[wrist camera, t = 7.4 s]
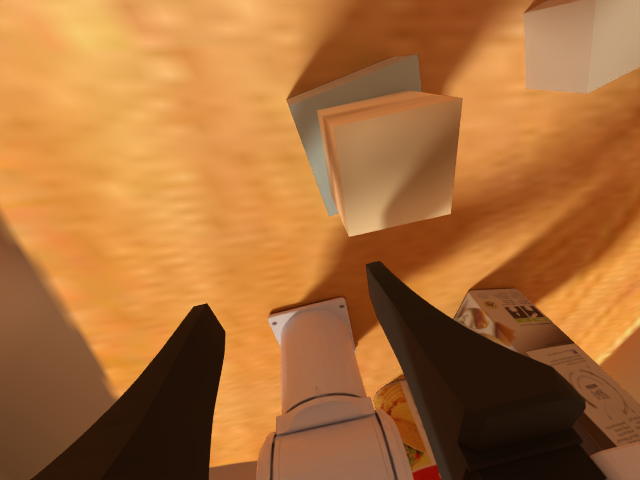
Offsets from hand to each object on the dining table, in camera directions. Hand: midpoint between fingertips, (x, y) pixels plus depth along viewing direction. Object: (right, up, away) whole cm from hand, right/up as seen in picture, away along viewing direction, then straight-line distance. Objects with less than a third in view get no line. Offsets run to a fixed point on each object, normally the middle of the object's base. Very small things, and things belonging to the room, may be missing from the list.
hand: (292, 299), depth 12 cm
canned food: (+13, -20, +28) cm, 37 cm away
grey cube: (+17, +16, +5) cm, 24 cm away
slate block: (+3, +10, +7) cm, 13 cm away
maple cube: (+4, +8, +4) cm, 10 cm away
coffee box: (+20, -6, +20) cm, 29 cm away
